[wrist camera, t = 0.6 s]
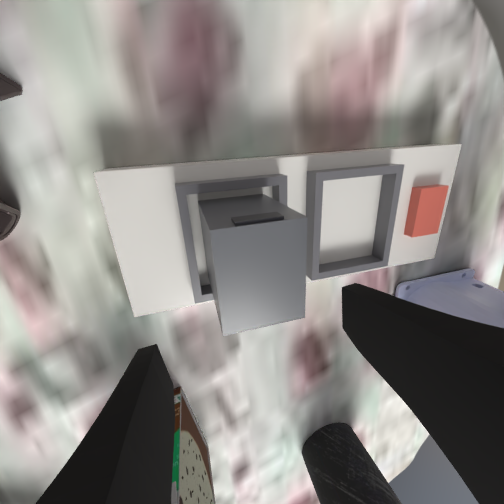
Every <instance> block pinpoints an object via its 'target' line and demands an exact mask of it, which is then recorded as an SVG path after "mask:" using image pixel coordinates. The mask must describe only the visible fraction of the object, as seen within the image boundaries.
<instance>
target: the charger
mask: <svg viewBox="0 0 504 504" xmlns="http://www.w3.org/2000/svg"><path fill="white" fill-rule="evenodd" d="M198 206H199V214H200V221H201V228H202V235H203V242H204V250H205V257H206V264H207V271H208V278H209V282H210V286H211V290H212V294H213V297H214V301H215V305H216V309H217V313H218V317H219V321H220V325H221V329H222V333H223V336H226V335H231V334H235V333H239V332H244V331H248V330H253V329H257V328H261V327H266V326H270V325H274V324H279V323H283V322H288V321H292V320H296V319H301V318H305V294H306V259H307V225H308V217H306V216H305V215H303V214H301V213H299V212H297V211H295V210H293V209H291V208H289V207H288V206H286V205H284V204H282V203H280V202H278V201H276V200H274V199H272V198H271V197H269V196H267V195H265V194H255V195H246V196H236V197H227V198H218V199H209V200H199V201H198Z"/></svg>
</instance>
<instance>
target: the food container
mask: <svg viewBox="0 0 504 504" xmlns="http://www.w3.org/2000/svg"><path fill="white" fill-rule="evenodd" d="M174 403H175V431H174V452H173V472H172V492H171V504H215V497H214V489H213V481H212V473H211V465H210V457H209V449H208V445H207V443H206V441H205V438H204V436H203V434H202V432H201V430H200V427H199V425H198V423H197V421H196V419H195V416H194V414H193V412H192V410H191V408H190V405H189V403H188V401H187V399H186V397H185V394H184V392H183V390H182V388H181V386H180V387H178V388H176V389H174Z"/></svg>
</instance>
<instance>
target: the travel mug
mask: <svg viewBox="0 0 504 504" xmlns="http://www.w3.org/2000/svg"><path fill="white" fill-rule="evenodd" d="M302 454H303V458H304V461H305V464H306V467H307V470H308V472H309V475H310V478H311V480H312V483H313V485H314V488H315V491H316V493H317V496H318V499H319V501H320V504H402V503H401V502H400V500H399V499H398V498H397V496H396V494H395V493H394V491H393V490H392V488H391V487H390V485H389V484H388V482H387V481H386V479H385V478H384V476H383V475H382V473H381V472H380V470H379V469H378V467H377V466H376V464H375V463H374V461H373V460H372V458H371V457H370V455H369V454H368V452H367V451H366V449H365V448H364V446H363V445H362V443H361V441H360V440H359V439H358V437H357V436H356V434H355V433H354V431H353V430H352V428H351V427H350V426H349V425H347V424H344V423H334V424H330V425H328V426H325V427H323V428H321V429H320V430H318V431H317V432H315V433H314V434H313V435H312V436H311V437H310V438H309V439H308V440H307V441H306V443H305V445H304V447H303V450H302Z"/></svg>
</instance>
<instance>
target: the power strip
mask: <svg viewBox="0 0 504 504" xmlns="http://www.w3.org/2000/svg"><path fill="white" fill-rule="evenodd" d="M461 146H462V144H428V145H415V146H401V147H388V148H375V149H361V150H348V151H334V152H321V153H307V154H294V155H280V156H267V157H254V158H240V159H227V160H213V161H200V162H186V163H173V164H160V165H146V166H133V167H119V168H106V169H102V170H99V171H95V172H93V174H94V177H95V181H96V184H97V188H98V191H99V195H100V198H101V202H102V205H103V209H104V212H105V216H106V219H107V223H108V226H109V230H110V233H111V237H112V240H113V244H114V247H115V251H116V254H117V258H118V261H119V265H120V268H121V272H122V275H123V279H124V282H125V286H126V289H127V293H128V296H129V300H130V303H131V307H132V310H133V314H134V317H139V316H144V315H149V314H154V313H159V312H164V311H169V310H174V309H179V308H184V307H189V306H194V305H200V304H205V303H210V302H215V301H214V297H213V294H212V290H211V286H210V282H209V278H208V271H207V264H206V257H205V250H204V242H203V235H202V228H201V221H200V214H199V206H198V201H199V200H209V199H218V198H227V197H236V196H246V195H255V194H265V195H267V196H269V197H271V198H272V199H274V200H276V201H278V202H280V203H282V204H284V205H286V206H288V207H289V208H291V209H293V210H295V211H297V212H299V213H301V214H303V215H305V216H306V217H308V225H307V259H306V283H311V282H316V281H321V280H327V279H332V278H337V277H342V276H347V275H352V274H357V273H362V272H367V271H372V270H377V269H382V268H388V267H393V266H398V265H403V264H408V263H413V262H418V261H423V260H428V259H433V258H434V257H435V253H436V249H437V245H438V241H439V237H440V233H441V228H442V224H443V220H444V216H445V212H446V208H447V204H448V199H449V195H450V191H451V187H452V183H453V179H454V175H455V170H456V166H457V162H458V158H459V154H460V150H461Z"/></svg>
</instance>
